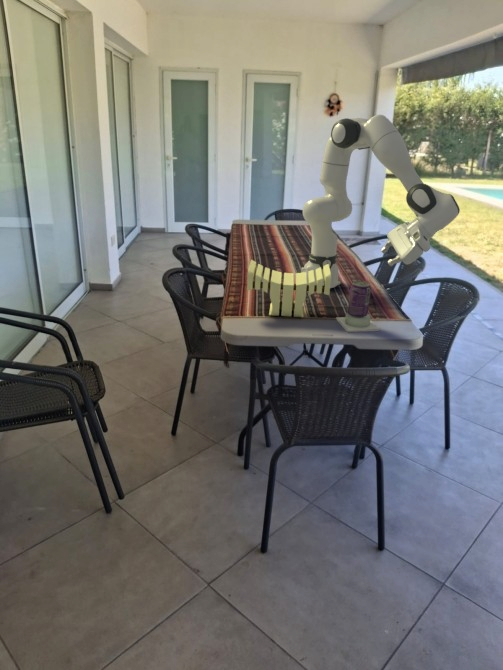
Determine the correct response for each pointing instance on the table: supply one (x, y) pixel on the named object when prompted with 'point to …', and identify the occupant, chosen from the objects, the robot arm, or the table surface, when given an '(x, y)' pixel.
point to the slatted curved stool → (288, 287)
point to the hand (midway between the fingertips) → (385, 257)
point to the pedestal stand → (357, 323)
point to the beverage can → (359, 299)
